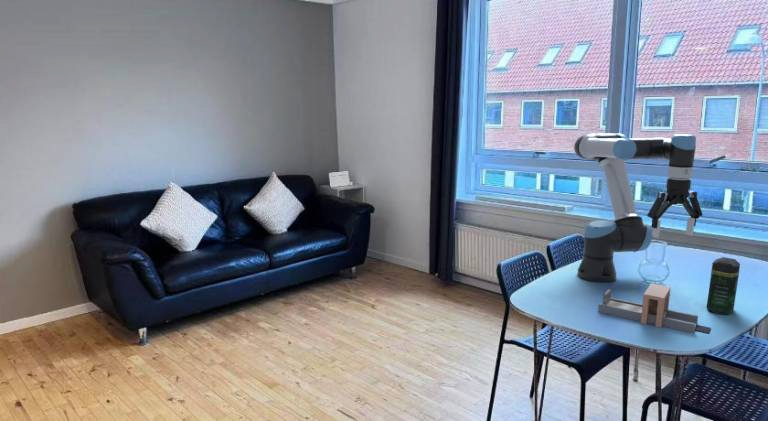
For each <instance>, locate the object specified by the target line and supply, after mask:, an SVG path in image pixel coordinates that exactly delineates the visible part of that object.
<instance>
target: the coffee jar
mask: <svg viewBox="0 0 768 421" xmlns="http://www.w3.org/2000/svg"><path fill="white" fill-rule="evenodd" d="M740 265H741V263H740V262H738V260H736V259H735V258H730V257H724V256H721V257H719V258H716V259H715V260H713V262H712V263H711V271H710V279H709V280H710V281H709V287H708V295H707V300H706V309H707V310H708V311H711V312H713V313H716V314H719V315H731V314H732V313H733V311H734V310H735V303H736V296H737V290H738V282H739V275H740V267H741V266H740Z"/></svg>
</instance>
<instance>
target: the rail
mask: <svg viewBox="0 0 768 421" xmlns="http://www.w3.org/2000/svg"><path fill="white" fill-rule="evenodd" d="M610 300H611V301H616V302H621V303H626V304H631V305H635V306H640V307H642V305H643V303H639V302H635V301H634V302H633V301H629V300H624V299H619V298H615V297H611V298H610ZM597 312H598V313H603V314H606V315H611V316H615V317H621V318H626V319H629V320H633V321H638V322H641V315H642V312H638V311H633V310H629V309H624V308H619V307H614V306H610V305H605V304H603V303H598V309H597ZM665 312H667V313H666V317H663V319H662V327H664V328H665V327H666V328H669V329H670V328H671V329H675V330H679V331H683V332H689V333H693V334H694V332H695V327H696V325H698V319H699V315H698V314H694V313H688V312H683V311H679V310H673V309H669V308H668V309H665ZM656 316H657V315H652V314H648V318H647V323H648V324H651V325H656Z"/></svg>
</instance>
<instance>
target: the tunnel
mask: <svg viewBox="0 0 768 421" xmlns="http://www.w3.org/2000/svg"><path fill="white" fill-rule="evenodd" d="M670 296H671V286H667V285H661V284H657V283H650V284H649V286H648V287H647V288H646V290H645V292H643V298H642V304H643V305H642V315H641V321H640V324H644V325H647V318H648V308H649V299H653V300H658V307H657V316H656V324H655V327H656V328H660V329H661V328H662V327H663V326H662V319H663V310H664V301H665V298H666V304H665V309H669V305H670Z"/></svg>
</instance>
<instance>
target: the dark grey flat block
mask: <svg viewBox="0 0 768 421" xmlns="http://www.w3.org/2000/svg"><path fill="white" fill-rule="evenodd" d="M711 330H712V328H711V327H710V326H703V325H699V324H697V325H696V327H695V330H694V332H699V333H705V334H710V332H711Z"/></svg>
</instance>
